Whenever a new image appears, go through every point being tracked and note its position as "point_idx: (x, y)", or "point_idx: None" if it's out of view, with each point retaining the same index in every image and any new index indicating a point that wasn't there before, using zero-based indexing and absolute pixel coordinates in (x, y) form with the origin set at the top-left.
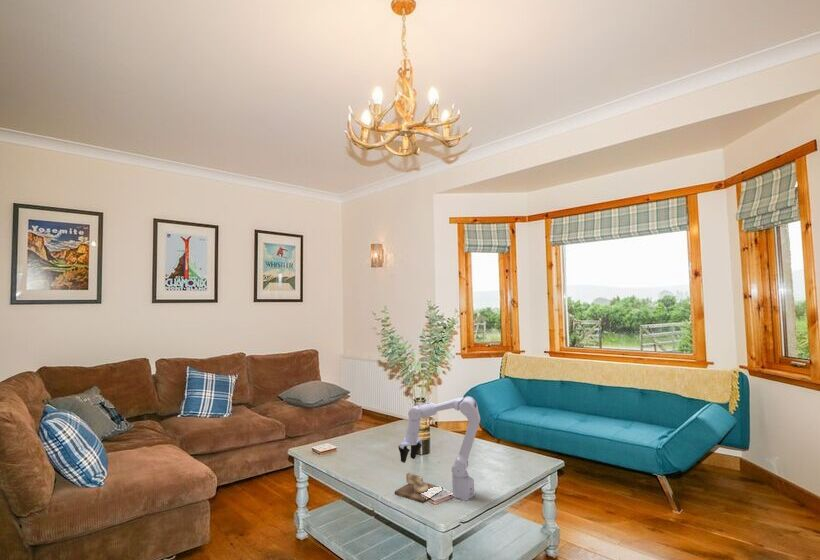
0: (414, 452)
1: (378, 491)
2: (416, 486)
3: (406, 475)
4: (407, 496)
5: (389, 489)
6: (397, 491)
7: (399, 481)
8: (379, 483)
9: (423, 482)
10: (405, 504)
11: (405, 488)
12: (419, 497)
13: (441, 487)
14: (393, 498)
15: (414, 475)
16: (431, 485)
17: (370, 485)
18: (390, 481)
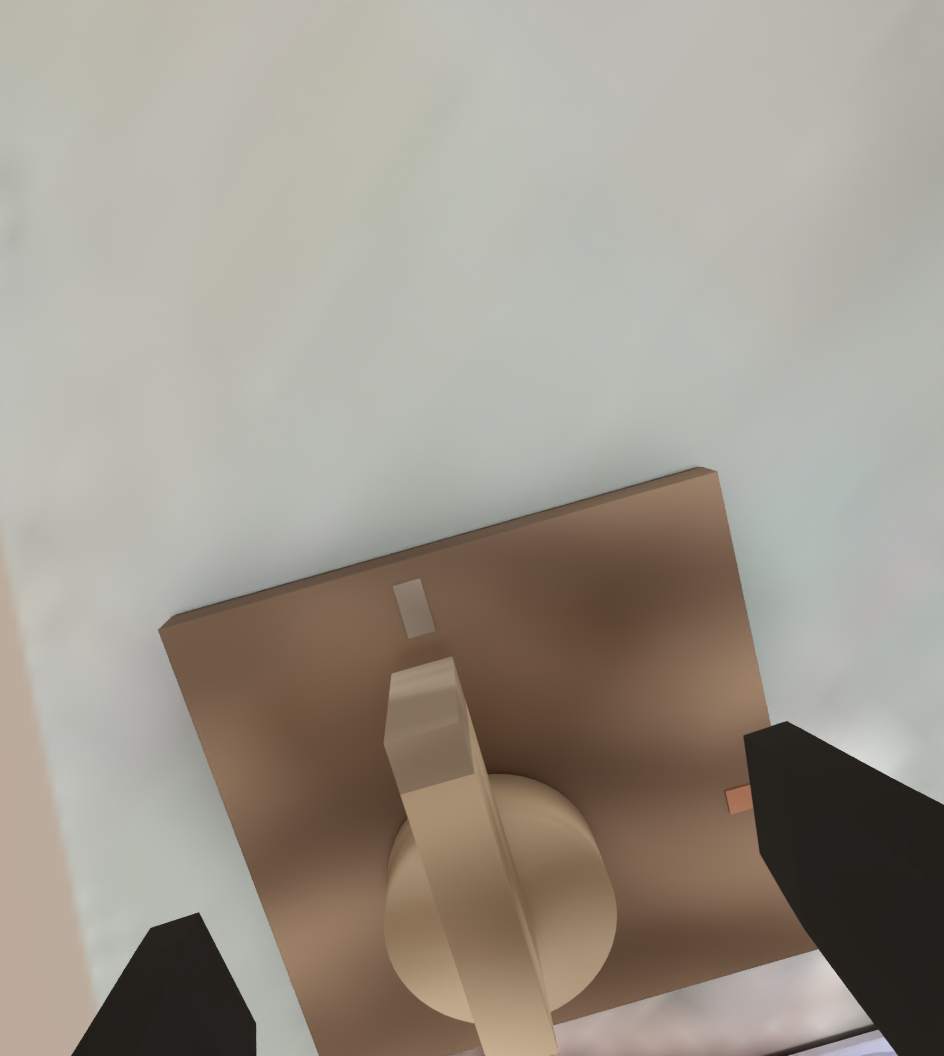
0: (935, 1044)
1: (10, 355)
2: (428, 899)
3: (384, 736)
4: (247, 851)
5: (208, 409)
6: (194, 662)
7: (532, 249)
8: (194, 71)
9: (738, 647)
10: (131, 945)
11: (368, 649)
12: (346, 1002)
13: (804, 938)
14: (88, 709)
15: (484, 893)
16: (747, 808)
17: (6, 31)
18: (407, 137)
